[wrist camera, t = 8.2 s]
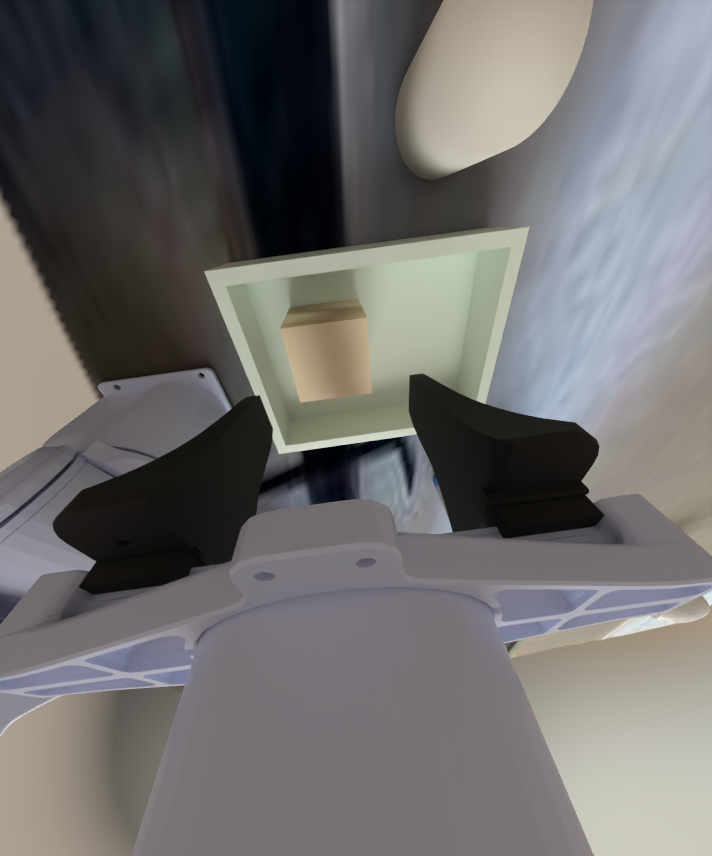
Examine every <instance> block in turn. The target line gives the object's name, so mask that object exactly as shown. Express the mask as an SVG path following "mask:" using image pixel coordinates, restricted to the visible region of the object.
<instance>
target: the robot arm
mask: <svg viewBox="0 0 712 856" xmlns="http://www.w3.org/2000/svg"><path fill="white" fill-rule="evenodd" d="M200 373H202V374H204V376H205V377H203V376H201V375H200ZM117 385H118V386H119V387H120V388H119V387H117ZM98 389H99V390H100V392H101V393H102V394H103V395H104V397H103V398H102V399H100V400H99V401H98V402H96V403H95V404H94V405H92V406H91V407H90V408H88V409H87V410H86V411H85V412H83V413H82V414H80V415H79V416H78V417H77V418H75V419H74V420H72V421H71V422H70V423H68V424H67V425H66V426H64V427H63V428H62V429H61V430H59V431H58V432H57V433H55V434H54V435H53V436H51V437H50V438H49V439H48V440H47V441H46V442H45V443H44V445H43V446H42V447H41V448H39V449H37V450H35V451H33V452H31V453H30V454H28V455H26V456H25V457H23V458H22V459H20V460H19V461H17V462H15V463H14V464H12V465H11V466H9V467H8V468H6V469H5V470H4V471H2V472H1V473H0V736H1V735H2V734H3V733H4V731H5V730H6V729H7V728H8V726H9V725H10V724H11V723H13V722H14V721H15V720H17V719H19V718H20V717H22V716H23V715H25V714H27V713H29V712H30V711H33V710H34V709H36V708H38V707H40V706H42V705H44V704H46V703H47V702H49V701H51V700H53V699H55V698H57V697H59V696H62V695H70V694H79V693H89V692H99V691H109V690H123V689H135V688H150V687H164V686H178V685H185V687H184V690H183V693H182V697H181V700H180V703H179V706H178V709H177V713H176V716H175V719H174V722H173V725H172V729H171V732H170V735H169V738H168V742H167V745H166V748H165V751H164V754H163V758H162V760H161V764H160V767H159V770H158V773H157V776H156V780H155V783H154V786H153V790H152V793H151V796H150V799H149V802H148V805H147V808H146V812H145V815H144V819H143V821H142V824H141V828H140V831H139V834H138V837H137V840H136V844H135V847H134V850H133V853H132V856H594V855H593V853H592V850H591V848H590V846H589V843H588V841H587V839H586V836H585V834H584V831H583V830H582V827H581V825H580V822H579V819H578V817H577V815H576V812H575V810H574V808H573V805H572V803H571V800H570V798H569V796H568V793H567V791H566V789H565V786H564V784H563V782H562V779H561V777H560V774H559V772H558V770H557V767H556V765H555V763H554V760H553V758H552V755H551V753H550V751H549V749H548V746H547V744H546V741H545V739H544V737H543V734H542V732H541V729H540V727H539V725H538V723H537V720H536V718H535V715H534V713H533V711H532V708H531V706H530V703H529V701H528V699H527V696H526V694H525V692H524V689H523V687H522V684H521V682H520V680H519V677H518V675H517V673H516V670H515V668H514V666H513V663H512V661H511V658H510V656H509V654H508V651H507V649H506V647H505V644H504V643H508V642H513V641H518V640H522V639H527V638H532V637H537V636H542V635H546V634H551V633H556V632H561V631H565V630H570V629H575V628H580V627H585V626H590V625H595V624H600V623H605V622H611V621H616V620H622V619H628V618H634V617H640V616H647V615H653V614H660V613H667V612H669V611H671V610H673V609H675V608H677V607H679V606H681V605H684V604H686V603H688V602H690V601H692V600H694V599H696V598H698V597H700V596H702V595H704V594H706V593H708V592H710V591H712V556H711V555H710V554H709V553H708V552H706V551H705V550H704V549H703V548H702V547H701V546H699V545H698V544H697V543H696V542H695V541H694V540H692V539H691V538H690V537H689V536H688V535H687V534H685V533H684V532H683V531H682V530H681V529H680V528H678V527H677V526H676V525H675V524H674V523H673V522H671V521H670V520H669V519H668V518H667V517H666V516H664V515H663V514H662V513H661V512H660V511H659V510H657V509H656V508H655V507H654V506H653V505H652V504H650V503H649V502H648V501H647V500H646V499H645V498H643V497H642V496H641V495H640V494H631V495H623V496H616V497H609V498H604V499H600V500H598V501H596V502H594V503H592V502H591V501H590V499H589V498H588V497H587V496H586V495H585V494H588V493H589V489H588V488H587V487H586V486H585V485H584V484H583V483H582V482H581V481H582V479H583V478H584V476H585V475H586V473H587V472H588V471H589V469H590V468H591V466H592V465H593V463H594V462H595V460H596V458H597V456H598V452H599V444H598V442H597V440H596V439H595V438H594V437H593V436H591V435H590V434H589V433H588V432H586V431H585V430H584V429H583V428H581V427H580V426H579V425H578V424H576V423H574V422H566V421H558V420H551V419H543V418H538V417H533V416H527V415H522V414H518V413H514V412H510V411H506V410H503V409H499V408H495V407H492V406H489V405H486V404H484V403H481V402H478V401H476V400H473V399H471V398H468V397H466V396H464V395H462V394H460V393H458V392H456V391H454V390H452V389H450V388H448V387H446V386H444V385H443V384H441V383H439V382H437V381H436V380H434V379H432V378H430V377H429V376H427V375H425V374H423V373H421V374H414V375H410V377H409V414H410V417H411V421H412V424H413V427H414V429H415V431H416V433H417V435H418V437H419V440H420V442H421V444H422V446H423V448H424V450H425V452H426V454H427V456H428V458H429V460H430V463H431V465H432V467H433V470H434V473H435V476H436V479H437V482H438V485H439V488H440V491H441V494H442V497H443V500H444V503H445V507H446V510H447V514H448V517H449V520H450V524H451V527H452V531H453V532H452V533H445V534H421V533H403V532H397V530H396V525H395V521H394V517H393V515H392V513H391V511H390V509H389V507H387V506H385V505H382V504H380V503H378V502H375V501H373V500H360V499H353V500H345V501H338V502H331V503H323V504H316V505H309V506H301V507H294V508H286V509H279V510H272V511H267V512H264V513H261V514H258V515H256V510H257V503H258V496H259V490H260V486H261V482H262V478H263V474H264V471H265V467H266V464H267V460H268V456H269V453H270V449H271V444H272V434H273V427H272V425H271V422H270V420H269V417H268V415H267V412H266V410H265V407H264V405H263V402H262V400H261V397H260V395H258V396H251V397H246V398H245V399H243V400H242V401H240V402H239V403H238V404H237V405H235V406H234V407H233V408H232V406H231V404H230V402H229V400H228V398H227V396H226V394H225V392H224V390H223V388H222V386H221V384H220V382H219V380H218V378H217V376H216V374H215V372H214V371H213V370H212V369H210V368H200V369H193V370H186V371H179V372H172V373H165V374H158V375H150V376H143V377H136V378H129V379H122V380H115V381H108V382H102V383H100V384H99V385H98Z"/></svg>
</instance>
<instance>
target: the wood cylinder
mask: <svg viewBox="0 0 712 856" xmlns="http://www.w3.org/2000/svg"><path fill="white" fill-rule="evenodd" d="M592 6H593V0H443V2H442V4H441V6H440V8H439V10H438V12H437V14H436V16H435V18H434V20H433V22H432V24H431V26H430V27H429V29H428V31H427V33H426V35H425V37H424V39H423V41H422V43H421V45H420V47H419V49H418V51H417V53H416V55H415V57H414V58H413V60H412V62H411V64H410V66H409V68H408V70H407V72H406V74H405V76H404V79H403V81H402V84H401V87H400V90H399V93H398V98H397V103H396V110H395V134H396V141H397V145H398V149H399V151H400V154H401V157H402V159H403V161H404V162H405V164H406V165H407V167H408V168H409V169H410V170H411V171H412V172H413V173H414V174H415V175H417V176H419V177H420V178H423V179H427V180H437V179H441V178H444V177H446V176H448V175H451V174H453V173H455V172H457V171H460V170H462V169H464V168H467V167H469V166H471V165H474V164H476V163H478V162H480V161H483V160H485V159H487V158H490V157H492V156H494V155H496V154H499V153H501V152H503V151H506V150H508V149H510V148H513V147H514V146H516V145H518V144H519V143H521V142H522V141H524V140H525V139H526V138H528V137H529V136H530V135H531V134H532V133H533V132H534V131H535V130H537V129H538V128H539V126H540V125H541V124H542V123H543V122H544V121H545V120H546V118H547V117H548V116H549V114H550V113H551V112H552V110H553V109H554V108H555V106H556V104H557V103H558V101H559V100H560V98H561V97H562V95H563V93H564V91H565V89H566V87H567V85H568V84H569V82H570V79H571V77H572V75H573V73H574V71H575V68H576V66H577V63H578V61H579V58H580V55H581V52H582V49H583V46H584V43H585V39H586V36H587V32H588V27H589V23H590V19H591V13H592Z"/></svg>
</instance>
